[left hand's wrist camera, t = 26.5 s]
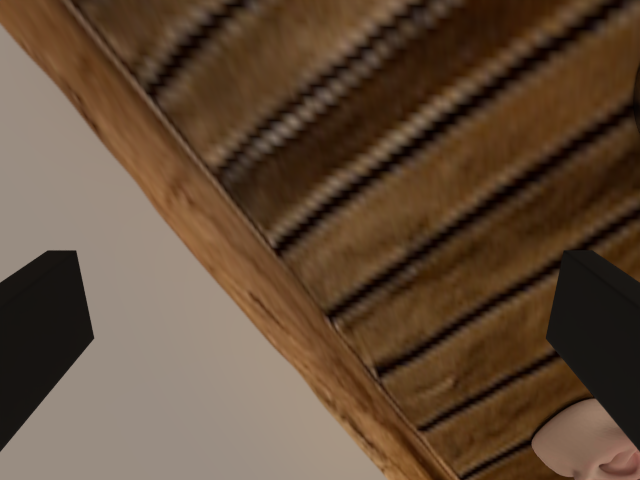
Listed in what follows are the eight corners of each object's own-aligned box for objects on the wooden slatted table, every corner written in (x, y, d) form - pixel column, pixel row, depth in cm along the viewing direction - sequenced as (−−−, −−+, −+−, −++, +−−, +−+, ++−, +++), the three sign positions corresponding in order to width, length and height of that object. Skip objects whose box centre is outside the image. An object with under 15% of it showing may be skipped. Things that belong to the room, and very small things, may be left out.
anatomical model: (532, 490, 47) (597, 406, 43) (516, 458, 50) (575, 379, 46) (640, 525, 48) (712, 447, 45) (617, 492, 52) (681, 418, 48)
